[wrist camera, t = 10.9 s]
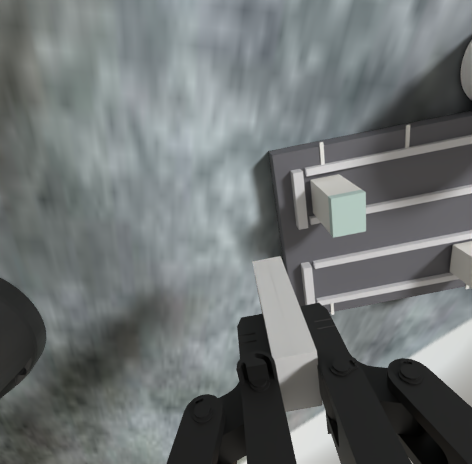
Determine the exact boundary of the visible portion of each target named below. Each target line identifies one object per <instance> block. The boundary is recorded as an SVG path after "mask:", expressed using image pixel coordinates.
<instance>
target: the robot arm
mask: <svg viewBox="0 0 472 464" xmlns="http://www.w3.org/2000/svg"><path fill="white" fill-rule="evenodd" d="M252 262H253V267H254V273H255V278H256V283H257V289H258V294H259V299H260V305H261V310H262V314H259V315H254V316H248V317H243V318H241V319H240V322H239V324H238V326H237V328H238V340H239V351H240V360H239V362H238V363H237V369H236V370H237V373H238V377H239V381H240V382H239V383H238V385H237V386H236V387H235V388H234V389H233V390H232V391H231V392H229V393H228V394H226V395H224V396H222V397H220V398H217V397H216V396H213V395H209V394H206V395H200V396H198V397H196V398H194V399H193V400H192V401H191V402H190V403H189V404H188V405H187V407H186V409H185V411H184V414H183V417H182V420H181V423H180V426H179V429H178V432H177V435H176V437H175V440H174V443H173V446H172V449H171V452H170V455H169V458H168V461H167V464H237V460H239V459H241V458H242V457H244V456H246V455H247V464H296V459H295V454H294V450H293V445H292V441H291V436H290V431H289V427H288V422H287V417H286V413H285V412H287V411H293V410H298V409H304V408H310V407H315V406H321V405H322V401H323V404H324V407H325V410H326V418H327V429H328V434H332V438H333V441H334V443H335V447H336V450H337V453H338V456H339V459H340V462H341V464H412V463H411V461H412V462H413V464H472V407H471V406H470V405H468V404H467V403H466V402H465V401H464V400H463V399H462V398H461V397H459V396H458V395H457V394H456V393H455V392H454V391H453V390H452V389H451V388H449V387H448V386H447V385H446V384H445V383H444V382H443V381H442V380H441V379H439V378H438V377H437V376H436V375H435V374H434V373H433V372H432V371H430V370H429V369H428V368H427V367H426V366H424V365H423V364H421V363H420V362H417V361H415V360H412V359H404V358H402V359H397V360H394V361H393V362H391V363H390V364H389V366H388V368H381V367H372V366H367V365H365V364H362V363H360V362H358V361H357V360H356V359H355V358H353V357H352V356H351V355H350V353H349V352H348V350H347V348H346V346H345V344H344V342H343V340H342V338H341V336H340V334H339V332H338V330H337V328H336V327H335V324H334V322H333V320H332V318H331V316H330V314H329V312H328V310H327V309H326V308H325V307H324V306H322V305H321V304H320V303H314V304H309V305H304V306H299V303H298V301H297V298H296V295H295V293H294V290H293V288H292V285H291V282H290V280H289V277H288V274H287V272H286V269H285V267H284V264H283V261H282V259H281V256H279V257H273V258H268V259H263V260H257V261H252ZM45 343H46V330H45V326H44V322H43V320H42V317H41V315H40V314H39V312H38V310H37V309H36V307H35V306H34V304H33V303H32V302H31V301H30V300H29V299H28V298H27V297H26V296H25V295H24V294H23V293H22V292H21V291H20V290H18V289H17V288H16V287H14V286H13V285H12V284H10V283H9V282H7V281H5V280H4V279H2V278H0V399H1V398H2V397H3V396H4V395H5V394H7V393H8V392H9V391H10V390H12V389H13V388H14V387H15V386H16V385H18V384H19V383H20V382H21V381H22V380H23V379H24V378H25V377H26V376H27V375H28V374H29V373H30V371H31V370H32V369H33V367H34V365H35V364H36V362H37V361H38V359H39V358H40V356H41V354H42V352H43V350H44V347H45ZM408 457H409V458H408ZM409 459H410V460H411V461H410V460H409Z"/></svg>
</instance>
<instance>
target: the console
mask: <svg viewBox="0 0 472 464" xmlns="http://www.w3.org/2000/svg"><path fill="white" fill-rule="evenodd" d="M268 153H269V160H270V167H271V174H272V182H273V189H274V196H275V203H276V211H277V218H278V225H279V232H280V240H281V247H282V254H283V262H284V267H285V269H286V272H287V274H288V277H289V280H290V282H291V285H292V288H293V290H294V293H295V295H296V298H297V301H298V303H299V306H304V305H309V304H314V303H320V304H321V305H322V306H324V307H325V308H326V309H327V310H328V312H331V315H334V311H339V310H344V309H350V308H355V307H360V306H365V305H370V304H376V303H381V302H386V301H391V300H396V299H402V298H407V297H412V296H417V295H422V294H428V293H433V292H438V291H443V290H448V289H454V288H459V287H464V286H466V287H465V289H469V286H468V285H467V284H465V283H464V282H463V281H461V280H460V279H459V278H458V277H456V276H455V275H454V274H452V273H451V272H450V263H451V255H452V247H453V245H454V244H459V243H464V242H469V241H472V111H467V112H462V113H457V114H452V115H447V116H442V117H437V118H432V119H427V120H422V121H417V122H412V123H407V124H402V125H397V126H392V127H387V128H382V129H377V130H372V131H367V132H362V133H357V134H352V135H347V136H342V137H337V138H332V139H327V140H322V141H317V142H312V143H307V144H302V145H297V146H292V147H287V148H282V149H277V150H272V151H268ZM337 174H339V175H341V176H342V177H344V178H345V179H347V180H348V181H350V182H351V183H353V184H354V185H356V186H357V187H359V188H360V189H362V190H363V191H365V192H366V231H365V232H360V233H355V234H350V235H345V236H340V237H334V238H333V237H332V236H331V234H330V233H329V232H328V231H327V229H326V228H325V227H324V226H323V225H322V223H321V222H320V221H319V220H318V218H317V217H316V216H315V215H314V213H313V207H312V195H311V183H310V180H311V179H317V178H322V177H327V176H332V175H337Z"/></svg>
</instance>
